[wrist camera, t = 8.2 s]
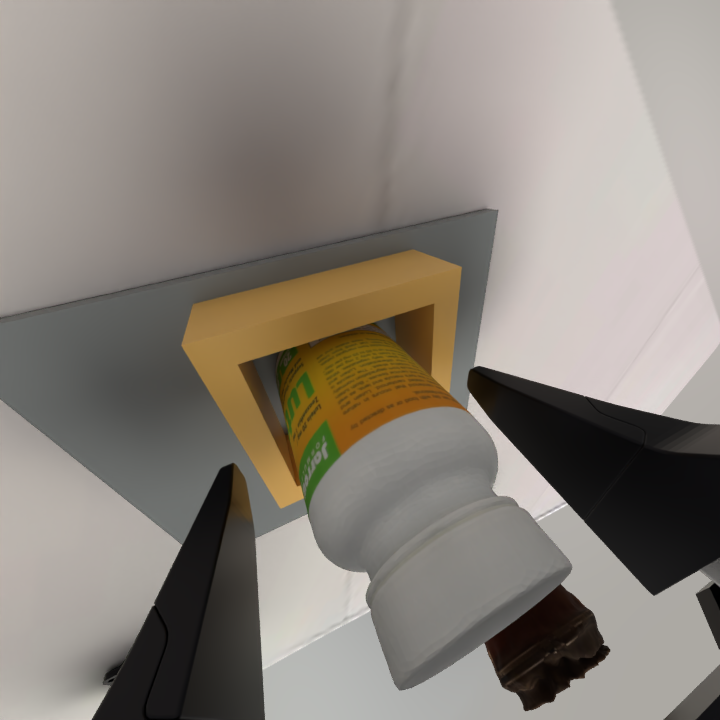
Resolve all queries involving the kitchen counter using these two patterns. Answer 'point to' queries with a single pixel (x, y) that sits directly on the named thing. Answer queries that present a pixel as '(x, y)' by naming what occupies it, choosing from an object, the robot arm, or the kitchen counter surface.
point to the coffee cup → (547, 648)
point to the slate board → (194, 371)
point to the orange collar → (312, 322)
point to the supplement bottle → (410, 500)
